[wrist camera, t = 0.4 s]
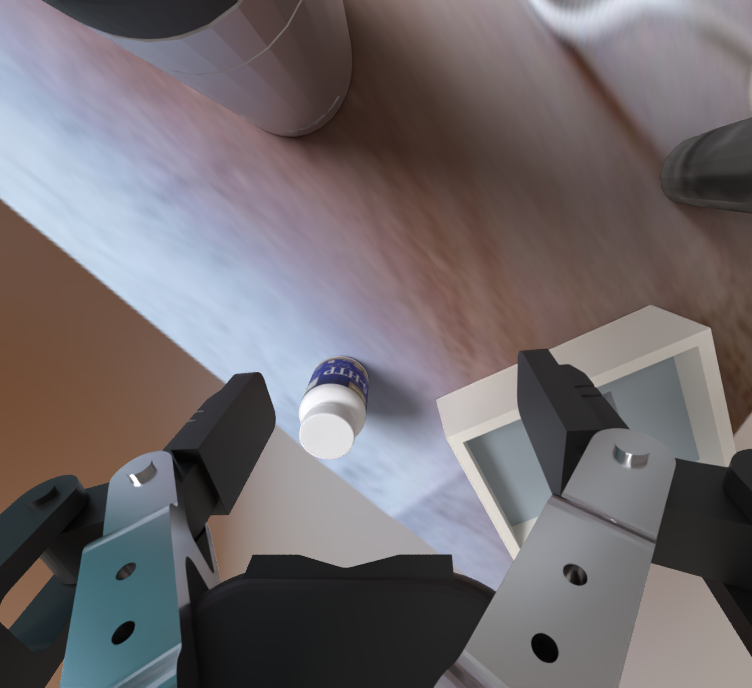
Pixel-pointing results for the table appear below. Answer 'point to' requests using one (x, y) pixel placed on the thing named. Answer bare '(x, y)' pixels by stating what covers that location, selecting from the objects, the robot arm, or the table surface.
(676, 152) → the beverage cup
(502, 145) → the table surface
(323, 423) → the pill bottle
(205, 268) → the table surface
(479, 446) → the bore box
